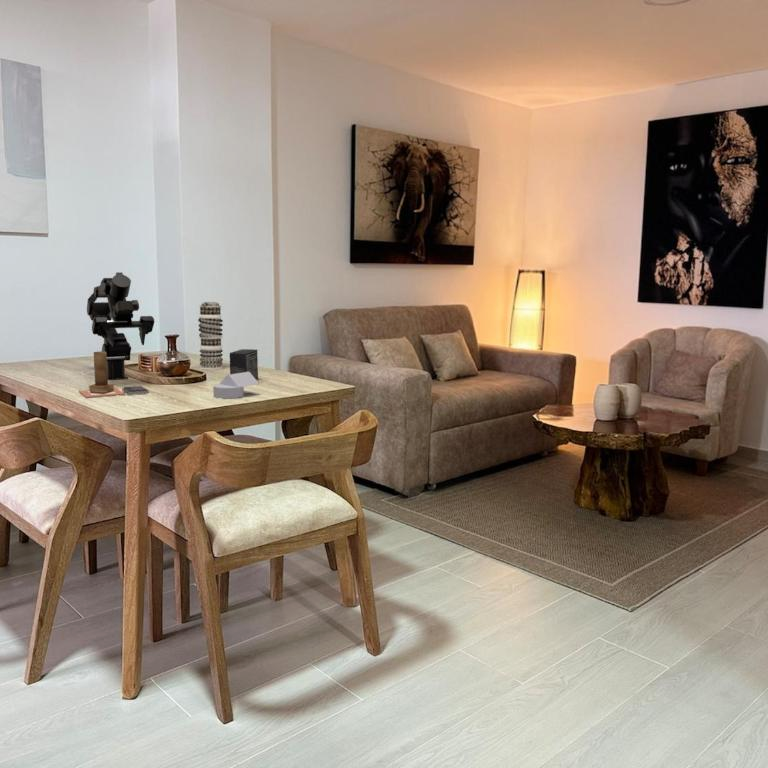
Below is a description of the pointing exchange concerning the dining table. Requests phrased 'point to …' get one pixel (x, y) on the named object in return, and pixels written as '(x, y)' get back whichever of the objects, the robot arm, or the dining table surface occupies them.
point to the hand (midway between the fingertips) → (128, 345)
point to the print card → (92, 395)
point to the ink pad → (135, 390)
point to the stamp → (101, 375)
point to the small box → (244, 362)
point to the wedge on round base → (233, 385)
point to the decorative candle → (210, 336)
